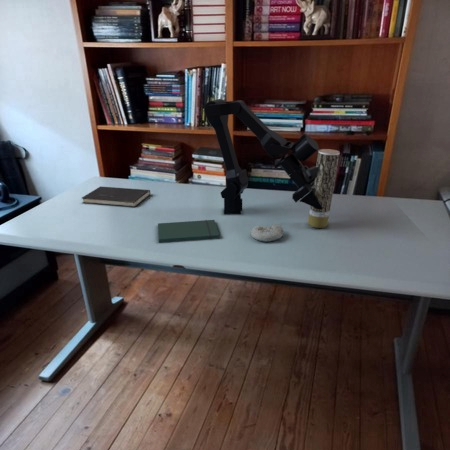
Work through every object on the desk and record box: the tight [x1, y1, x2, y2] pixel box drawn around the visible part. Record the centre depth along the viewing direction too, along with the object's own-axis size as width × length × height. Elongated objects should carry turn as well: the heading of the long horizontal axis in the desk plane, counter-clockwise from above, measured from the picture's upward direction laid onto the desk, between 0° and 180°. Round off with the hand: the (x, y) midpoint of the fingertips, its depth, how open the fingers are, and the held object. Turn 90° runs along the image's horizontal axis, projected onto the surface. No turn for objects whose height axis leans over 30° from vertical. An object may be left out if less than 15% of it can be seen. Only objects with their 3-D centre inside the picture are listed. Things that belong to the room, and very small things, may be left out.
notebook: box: [157, 219, 221, 243], centre depth 143 cm, size 20×14×1 cm
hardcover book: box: [81, 186, 151, 208], centre depth 173 cm, size 16×23×2 cm
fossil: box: [250, 224, 284, 242], centre depth 138 cm, size 11×4×10 cm
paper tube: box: [307, 148, 341, 229], centre depth 140 cm, size 7×7×25 cm
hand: (323, 206), depth 142 cm, fingers closed on paper tube, 6 cm apart
